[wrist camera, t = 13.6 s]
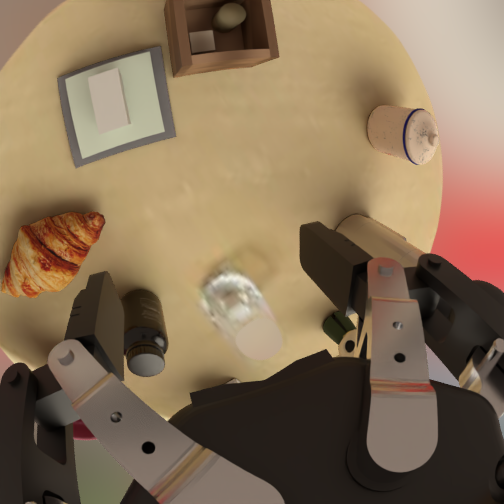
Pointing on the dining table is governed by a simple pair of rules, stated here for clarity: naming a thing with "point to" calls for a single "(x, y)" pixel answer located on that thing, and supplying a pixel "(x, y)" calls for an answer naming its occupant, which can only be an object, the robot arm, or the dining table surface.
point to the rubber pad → (169, 133)
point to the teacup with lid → (403, 133)
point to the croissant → (50, 253)
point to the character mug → (341, 333)
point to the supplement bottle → (144, 333)
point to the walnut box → (219, 34)
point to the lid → (114, 104)
